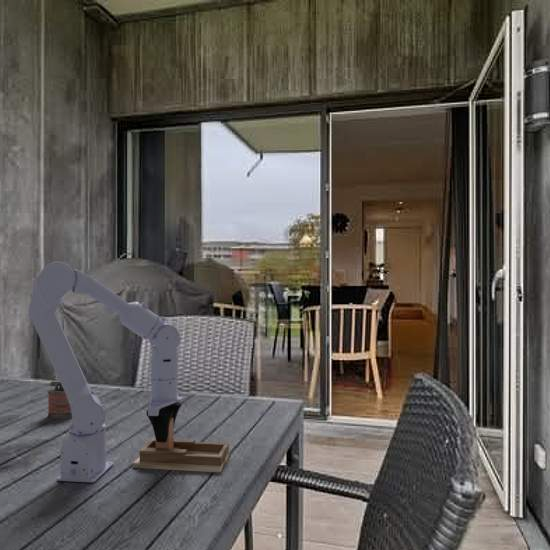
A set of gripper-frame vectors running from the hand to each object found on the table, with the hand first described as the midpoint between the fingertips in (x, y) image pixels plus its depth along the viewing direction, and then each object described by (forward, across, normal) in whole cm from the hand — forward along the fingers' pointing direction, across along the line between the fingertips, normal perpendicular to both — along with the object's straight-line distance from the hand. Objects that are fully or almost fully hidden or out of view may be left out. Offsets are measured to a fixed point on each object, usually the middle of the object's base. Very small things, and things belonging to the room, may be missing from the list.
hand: (164, 438), depth 113 cm
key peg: (+4, 0, 0) cm, 4 cm away
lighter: (+5, +27, +39) cm, 48 cm away
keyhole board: (+5, 0, -4) cm, 6 cm away
